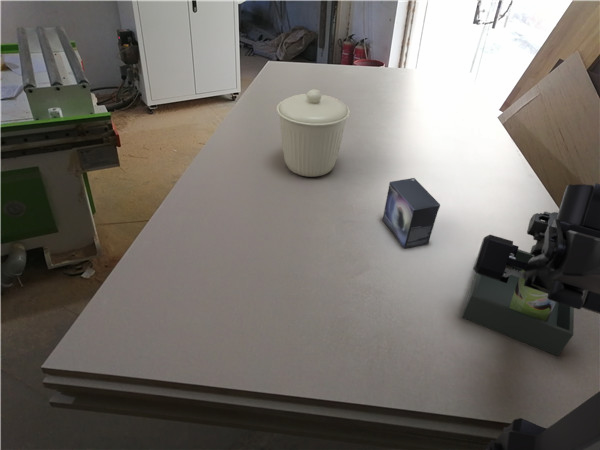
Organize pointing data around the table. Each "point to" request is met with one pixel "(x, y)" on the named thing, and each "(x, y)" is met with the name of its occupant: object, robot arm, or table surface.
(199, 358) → the table surface
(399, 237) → the small box
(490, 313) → the open square box
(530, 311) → the beverage can
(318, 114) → the canister
